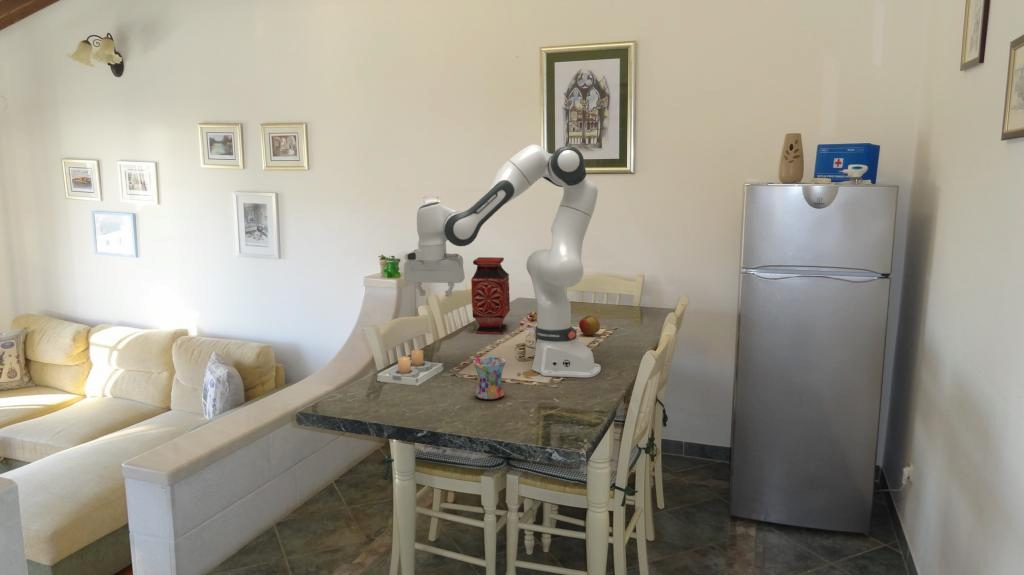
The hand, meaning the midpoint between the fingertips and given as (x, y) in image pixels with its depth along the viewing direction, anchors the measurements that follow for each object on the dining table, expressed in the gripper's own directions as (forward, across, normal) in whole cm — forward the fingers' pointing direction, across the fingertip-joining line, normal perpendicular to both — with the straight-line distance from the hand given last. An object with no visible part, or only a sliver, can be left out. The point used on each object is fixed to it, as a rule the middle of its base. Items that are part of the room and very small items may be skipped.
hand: (435, 295), depth 219 cm
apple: (+28, -36, -62) cm, 77 cm away
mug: (+25, -26, +20) cm, 41 cm away
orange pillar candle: (+23, +6, +14) cm, 28 cm away
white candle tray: (+24, +6, +10) cm, 27 cm away
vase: (+26, +4, -57) cm, 63 cm away
